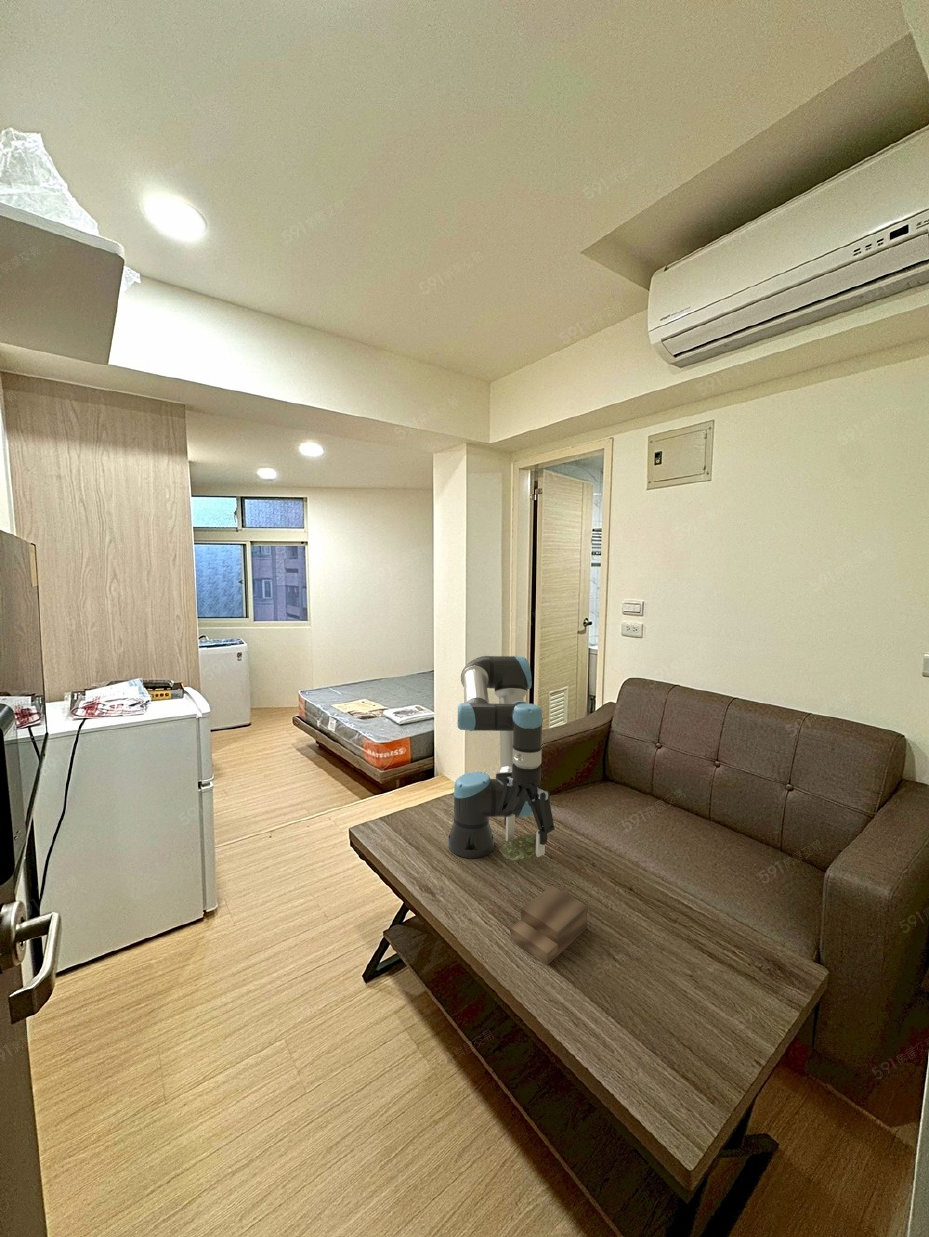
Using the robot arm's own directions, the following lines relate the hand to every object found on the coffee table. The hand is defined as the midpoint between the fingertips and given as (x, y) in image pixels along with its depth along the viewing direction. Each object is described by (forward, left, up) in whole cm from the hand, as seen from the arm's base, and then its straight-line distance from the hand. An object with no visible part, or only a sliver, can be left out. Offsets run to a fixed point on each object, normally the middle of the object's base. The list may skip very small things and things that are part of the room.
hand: (524, 846), depth 127 cm
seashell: (0, -1, -2) cm, 2 cm away
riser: (+10, -3, -17) cm, 20 cm away
